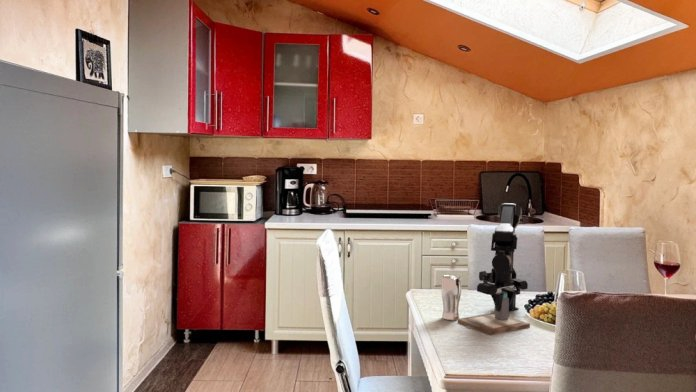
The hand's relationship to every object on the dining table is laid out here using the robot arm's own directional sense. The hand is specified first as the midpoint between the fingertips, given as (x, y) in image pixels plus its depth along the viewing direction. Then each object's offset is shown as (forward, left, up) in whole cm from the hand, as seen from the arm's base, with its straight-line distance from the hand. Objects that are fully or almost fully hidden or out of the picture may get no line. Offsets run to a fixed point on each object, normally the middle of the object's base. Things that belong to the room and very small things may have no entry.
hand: (501, 310), depth 200 cm
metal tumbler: (+12, -13, -5) cm, 18 cm away
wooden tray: (+4, 0, -4) cm, 6 cm away
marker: (0, 0, -3) cm, 3 cm away
